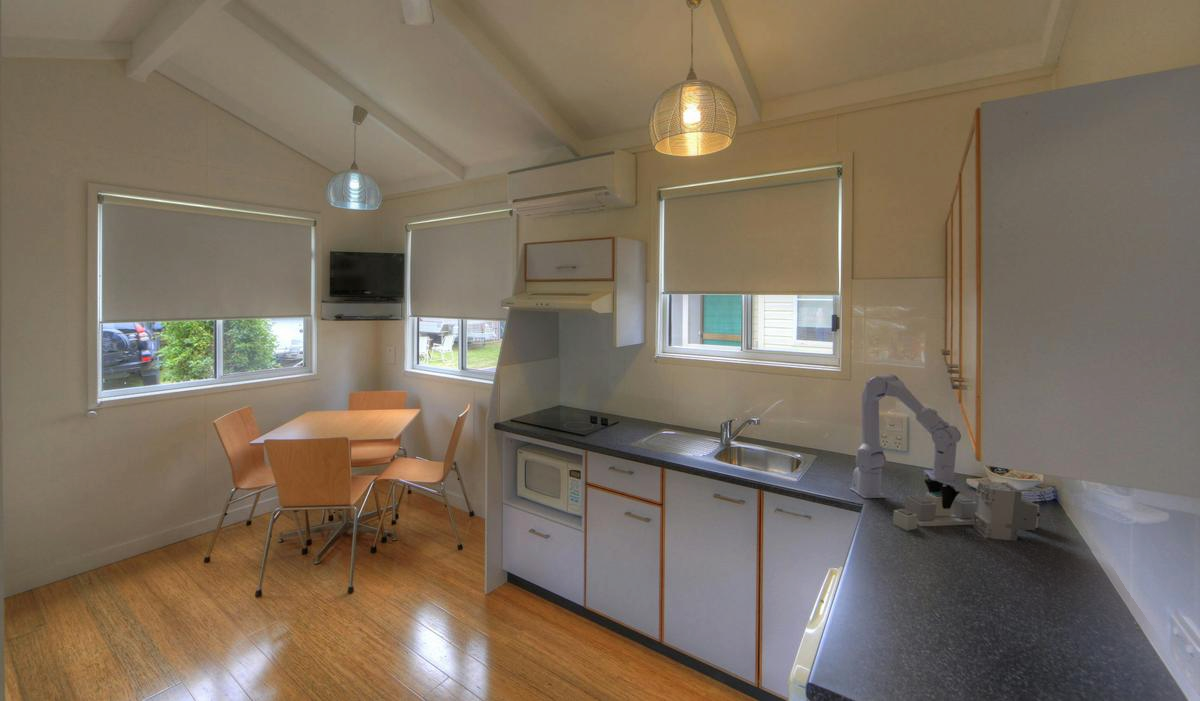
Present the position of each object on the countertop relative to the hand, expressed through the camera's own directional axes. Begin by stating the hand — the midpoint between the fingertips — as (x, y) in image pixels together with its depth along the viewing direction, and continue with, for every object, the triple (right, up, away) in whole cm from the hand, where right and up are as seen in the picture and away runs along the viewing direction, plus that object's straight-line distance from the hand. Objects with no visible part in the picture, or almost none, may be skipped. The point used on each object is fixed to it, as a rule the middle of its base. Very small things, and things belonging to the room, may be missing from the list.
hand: (940, 505), depth 168 cm
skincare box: (+23, -6, -3) cm, 24 cm away
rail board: (0, -5, +1) cm, 5 cm away
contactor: (-15, -5, -5) cm, 16 cm away
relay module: (-1, -3, 0) cm, 3 cm away
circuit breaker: (+13, -6, -10) cm, 18 cm away
